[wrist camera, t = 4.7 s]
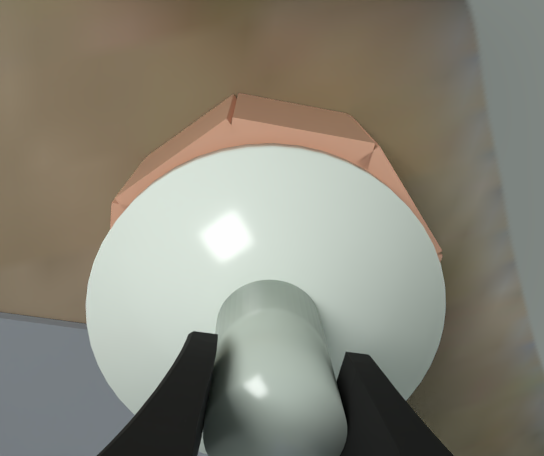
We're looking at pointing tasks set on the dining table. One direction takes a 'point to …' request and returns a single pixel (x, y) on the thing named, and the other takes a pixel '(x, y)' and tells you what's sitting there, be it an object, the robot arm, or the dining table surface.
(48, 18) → the dining table surface
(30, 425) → the mat
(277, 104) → the bowl
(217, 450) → the lid
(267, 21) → the dining table surface
